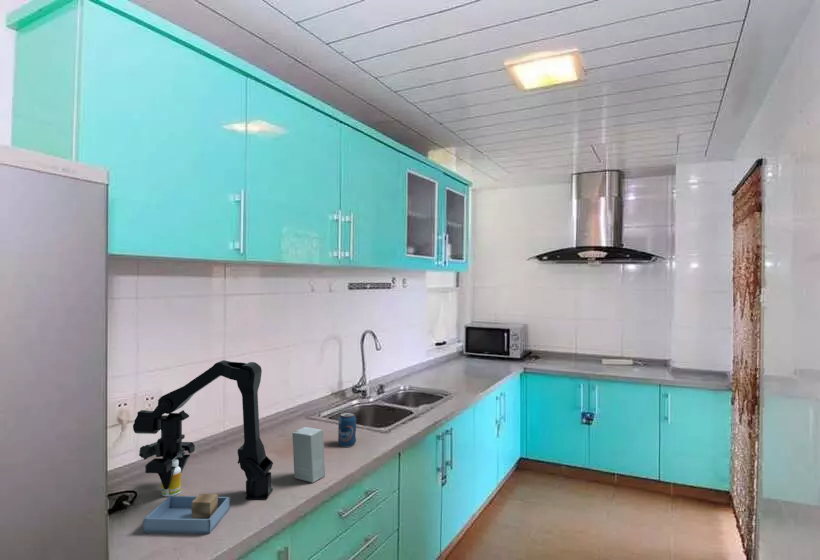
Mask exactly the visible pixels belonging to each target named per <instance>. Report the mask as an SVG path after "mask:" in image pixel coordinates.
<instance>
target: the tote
mask: <svg viewBox="0 0 820 560" xmlns="http://www.w3.org/2000/svg"><path fill="white" fill-rule="evenodd" d="M197 496H198V495H197ZM197 496H194V495H188V496H187V495H174V496H169V497H166V499H165V500H164V501H162V502H161V503H160V504H159V505H158V506H157V507H156V508H154V509H153V510H152V512H150V513H148V515H147V516H145V517H144V518H143V533H151V534H152V533H153V534H154V533H155V534H156V533H157V534H158V533H159V534H196V535H198V534H199V535H200V534H201V535H203V534H204V535H206V534H207V535H209V534H211V533H212V532H213V530H214V529H215V528H216V527H217V526H218V525H219V523H220V522H221V521H222V520H223V518H224V517H225V516H226V515H227V513H228V512H229V511H230V509H231V508H230V507H231V505H230V503H231V501H230V500H231V497H230V496H218V509H217V510H216V511H215V512H214V513H213V515H212V516H211V517H210V518H209V519H192V501H193V500H194V499H195V498H196V497H197Z"/></svg>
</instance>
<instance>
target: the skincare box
mask: <svg viewBox="0 0 820 560" xmlns="http://www.w3.org/2000/svg"><path fill="white" fill-rule="evenodd" d="M324 445H325V444H324V430H323V429H319V428H313V427H308V426H304V427H302V428H298V429H297V430H295V431H293V432H292V452H293V454H292V455H293V472H294V473H293V475H294V479H297V480H301V481H305V482H309V483H312V484H313V483H315V482H316V481H318V480H320V479H322V478H324V477H326V468H325V467H326V464H325V446H324Z"/></svg>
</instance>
